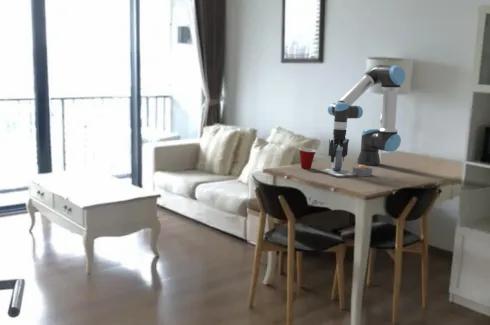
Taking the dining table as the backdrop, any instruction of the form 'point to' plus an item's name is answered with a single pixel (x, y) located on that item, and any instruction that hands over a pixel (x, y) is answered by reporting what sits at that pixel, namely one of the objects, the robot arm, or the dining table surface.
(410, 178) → the dining table surface
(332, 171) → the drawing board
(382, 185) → the dining table surface
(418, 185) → the dining table surface
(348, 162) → the dining table surface
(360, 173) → the button housing
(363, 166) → the button
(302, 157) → the plastic cup
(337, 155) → the grey tall block
